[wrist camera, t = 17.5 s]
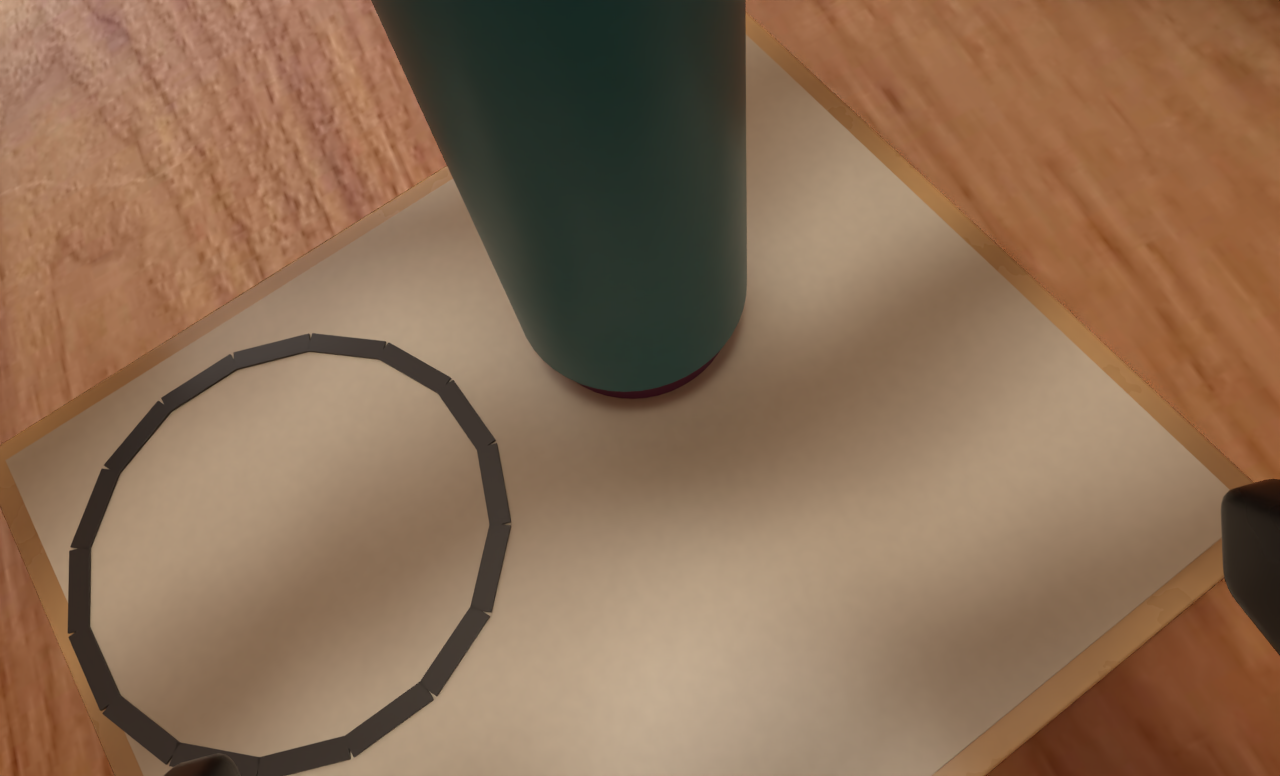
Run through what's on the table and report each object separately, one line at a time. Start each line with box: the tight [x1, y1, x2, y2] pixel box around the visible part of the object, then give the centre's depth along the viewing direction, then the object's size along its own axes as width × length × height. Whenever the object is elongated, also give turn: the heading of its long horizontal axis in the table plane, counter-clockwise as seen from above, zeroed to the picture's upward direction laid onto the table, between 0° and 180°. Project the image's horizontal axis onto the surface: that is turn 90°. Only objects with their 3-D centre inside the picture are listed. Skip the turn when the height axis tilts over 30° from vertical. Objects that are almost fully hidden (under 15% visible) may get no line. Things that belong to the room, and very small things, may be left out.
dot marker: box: [371, 0, 747, 399], centre depth 14 cm, size 4×4×12 cm
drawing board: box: [0, 12, 1254, 776], centre depth 19 cm, size 16×19×1 cm
